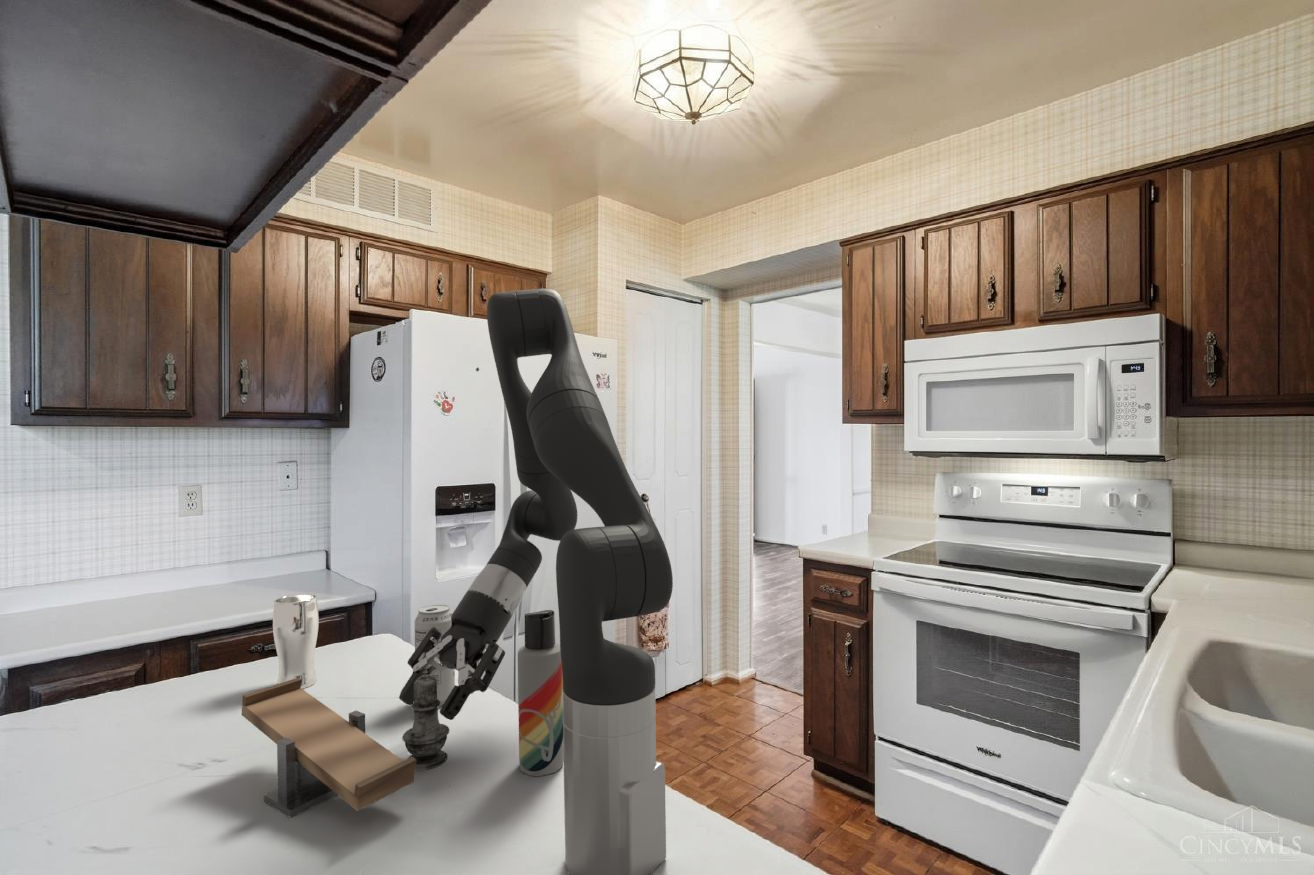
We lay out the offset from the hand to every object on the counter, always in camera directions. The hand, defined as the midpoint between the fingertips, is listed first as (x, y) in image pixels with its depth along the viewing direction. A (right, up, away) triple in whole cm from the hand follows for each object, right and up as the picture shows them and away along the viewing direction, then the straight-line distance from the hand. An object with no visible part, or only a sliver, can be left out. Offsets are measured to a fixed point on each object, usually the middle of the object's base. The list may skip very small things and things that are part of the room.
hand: (424, 709), depth 85 cm
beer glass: (-32, -7, +27) cm, 43 cm away
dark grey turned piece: (0, -7, 0) cm, 7 cm away
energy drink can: (-5, -7, +19) cm, 21 cm away
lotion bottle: (+16, -7, -2) cm, 17 cm away
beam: (-10, -2, -6) cm, 12 cm away
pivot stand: (-10, -7, -6) cm, 14 cm away
